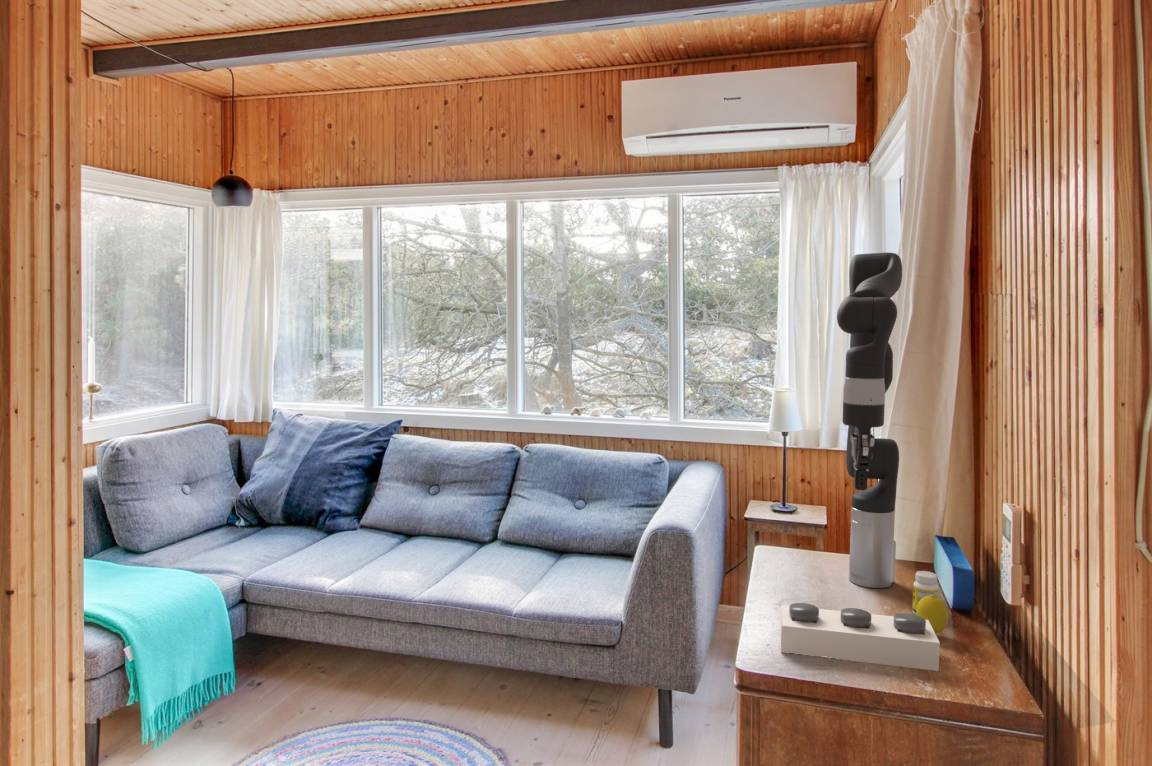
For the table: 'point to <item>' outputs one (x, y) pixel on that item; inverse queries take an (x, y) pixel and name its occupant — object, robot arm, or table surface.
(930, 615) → the lemon
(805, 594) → the table surface
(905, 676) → the table surface
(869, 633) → the knob panel
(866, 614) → the knob middle
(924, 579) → the supplement bottle
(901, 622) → the knob
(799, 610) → the knob
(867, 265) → the robot arm
